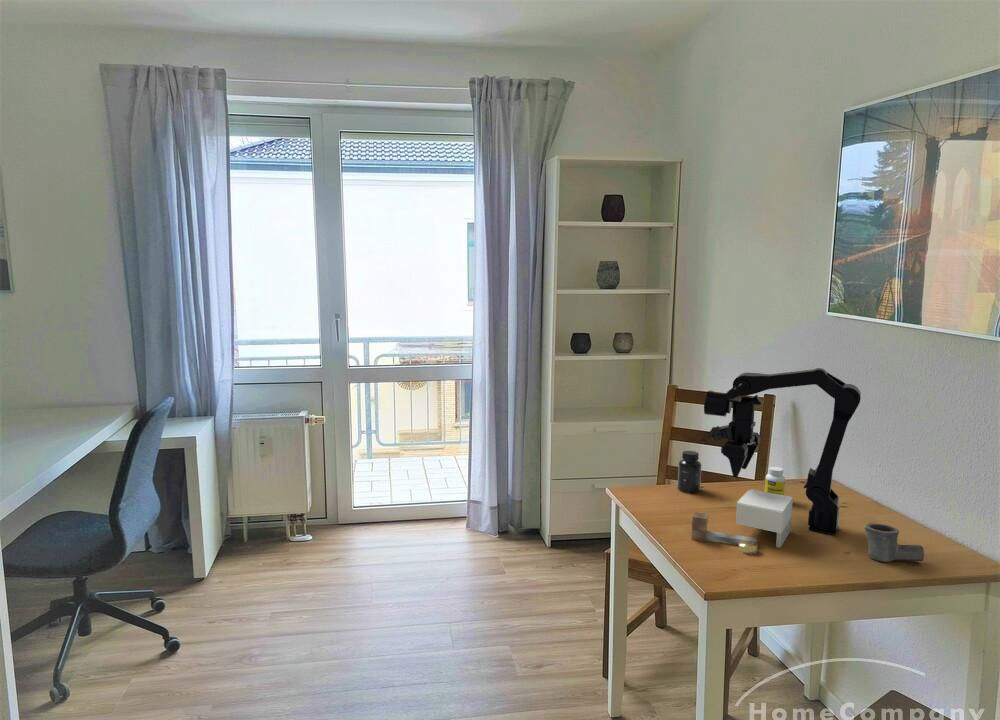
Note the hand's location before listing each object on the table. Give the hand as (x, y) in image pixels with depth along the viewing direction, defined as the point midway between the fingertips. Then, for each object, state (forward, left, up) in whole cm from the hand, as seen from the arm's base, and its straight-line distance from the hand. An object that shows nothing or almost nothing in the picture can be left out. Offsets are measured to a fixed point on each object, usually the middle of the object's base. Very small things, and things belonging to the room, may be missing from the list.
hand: (739, 472), depth 185 cm
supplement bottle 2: (-6, -18, -12) cm, 23 cm away
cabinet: (-10, +11, -12) cm, 19 cm away
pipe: (-38, +9, -12) cm, 41 cm away
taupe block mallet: (-2, +21, -12) cm, 25 cm away
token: (-9, +24, -12) cm, 28 cm away
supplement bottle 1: (+18, -12, -12) cm, 25 cm away
